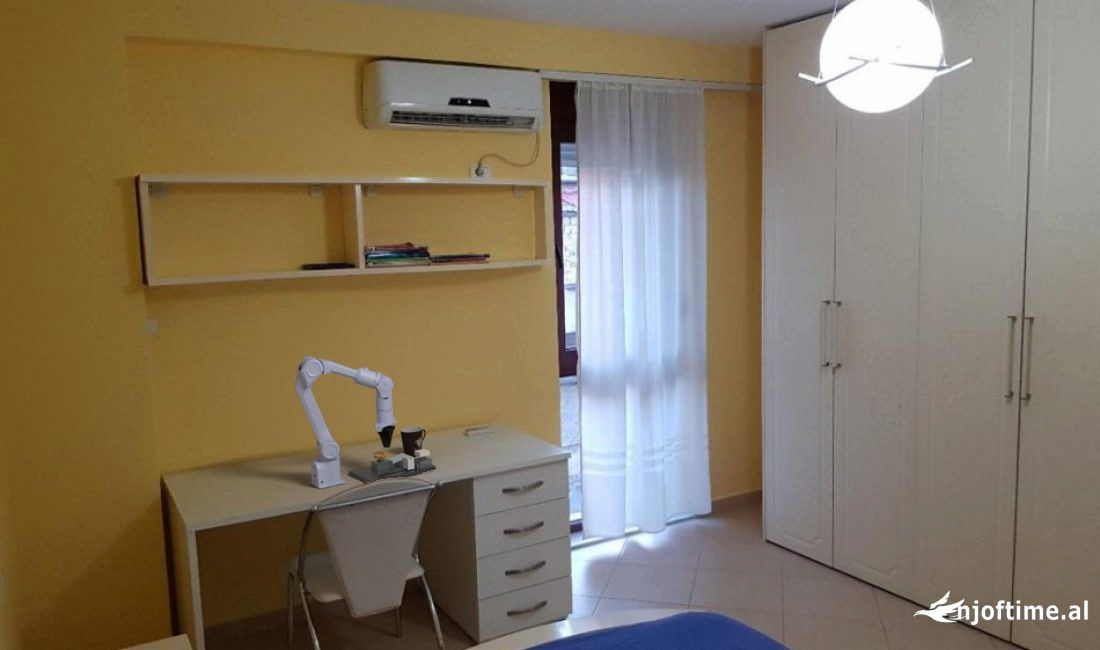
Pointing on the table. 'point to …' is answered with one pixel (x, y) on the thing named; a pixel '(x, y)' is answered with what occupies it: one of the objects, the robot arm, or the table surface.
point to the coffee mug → (412, 439)
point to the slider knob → (408, 462)
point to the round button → (380, 455)
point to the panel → (391, 470)
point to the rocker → (396, 458)
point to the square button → (422, 453)
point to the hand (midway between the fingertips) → (386, 447)
